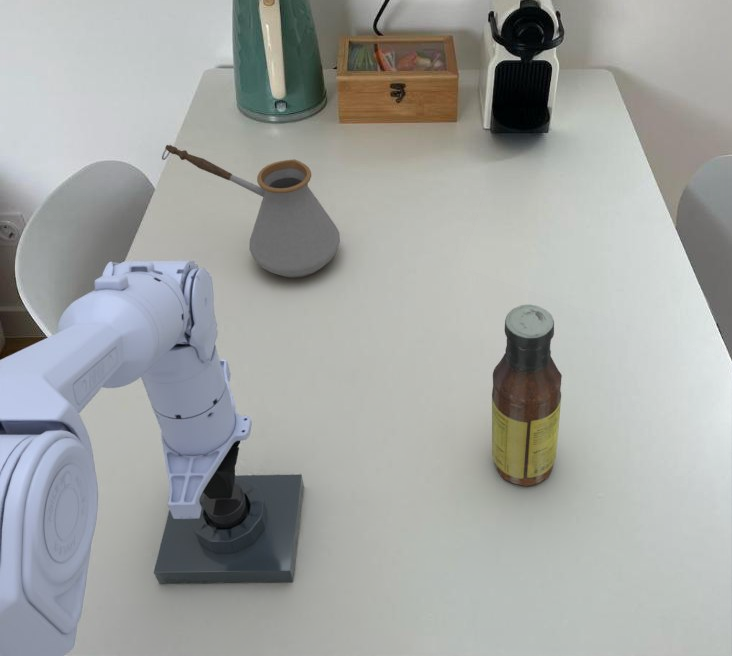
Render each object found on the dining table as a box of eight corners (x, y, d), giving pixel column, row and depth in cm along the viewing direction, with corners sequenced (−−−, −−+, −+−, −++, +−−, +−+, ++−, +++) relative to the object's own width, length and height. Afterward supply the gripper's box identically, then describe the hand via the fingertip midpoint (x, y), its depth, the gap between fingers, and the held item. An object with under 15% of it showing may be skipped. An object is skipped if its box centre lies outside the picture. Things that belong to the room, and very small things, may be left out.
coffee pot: (353, 237, 107) (344, 139, 97) (324, 294, 99) (310, 194, 89) (207, 215, 112) (183, 120, 102) (168, 268, 104) (137, 170, 94)
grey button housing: (304, 486, 79) (299, 461, 76) (293, 582, 72) (287, 559, 69) (182, 488, 79) (172, 463, 77) (158, 584, 72) (147, 560, 69)
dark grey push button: (250, 493, 74) (246, 481, 73) (244, 528, 72) (240, 516, 70) (211, 494, 74) (207, 481, 73) (204, 529, 72) (199, 516, 70)
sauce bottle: (553, 439, 82) (574, 295, 69) (555, 491, 78) (578, 348, 64) (488, 435, 83) (496, 292, 69) (487, 487, 78) (495, 345, 65)
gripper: (223, 468, 56) (255, 567, 65) (253, 322, 67) (276, 425, 76) (123, 470, 56) (168, 569, 66) (168, 323, 67) (202, 426, 76)
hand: (221, 492), depth 71 cm, fingers closed
